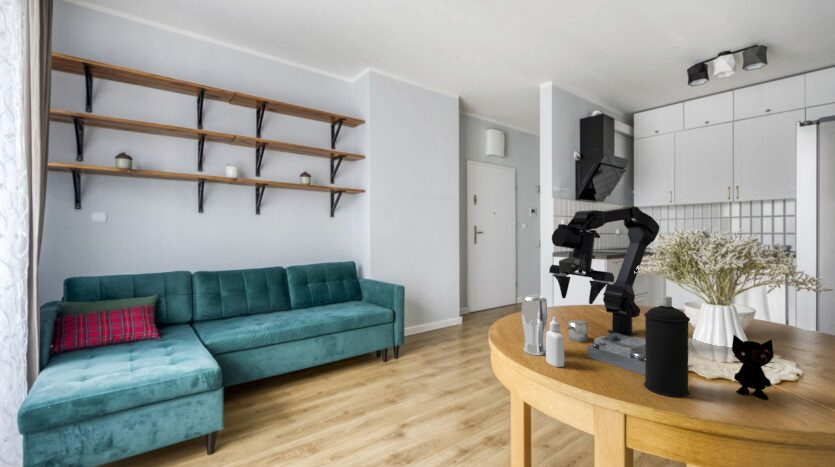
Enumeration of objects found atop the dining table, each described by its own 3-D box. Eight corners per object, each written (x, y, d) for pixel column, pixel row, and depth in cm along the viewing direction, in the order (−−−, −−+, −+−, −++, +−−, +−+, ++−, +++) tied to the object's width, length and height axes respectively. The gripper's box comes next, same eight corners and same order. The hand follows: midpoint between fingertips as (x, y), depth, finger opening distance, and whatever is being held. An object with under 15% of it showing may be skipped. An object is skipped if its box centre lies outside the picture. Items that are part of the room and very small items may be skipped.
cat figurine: (729, 394, 78) (730, 337, 78) (729, 384, 84) (730, 330, 83) (776, 404, 74) (777, 343, 73) (773, 392, 79) (774, 335, 79)
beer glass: (544, 348, 109) (544, 296, 109) (550, 356, 102) (550, 301, 102) (519, 347, 110) (519, 296, 110) (524, 355, 103) (523, 301, 103)
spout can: (575, 336, 121) (575, 318, 121) (591, 340, 116) (591, 322, 116) (559, 340, 116) (559, 322, 116) (575, 345, 112) (575, 326, 112)
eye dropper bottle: (563, 360, 99) (563, 315, 99) (564, 368, 94) (564, 320, 93) (545, 359, 100) (545, 314, 100) (545, 366, 95) (545, 319, 95)
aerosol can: (691, 401, 76) (691, 302, 75) (643, 392, 80) (643, 298, 80) (688, 386, 83) (688, 295, 82) (644, 378, 87) (644, 292, 87)
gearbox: (616, 347, 109) (616, 332, 109) (678, 364, 95) (678, 346, 95) (587, 357, 101) (587, 340, 101) (650, 377, 88) (650, 357, 88)
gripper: (541, 245, 120) (535, 294, 119) (596, 250, 104) (589, 306, 104) (562, 249, 126) (557, 296, 125) (618, 254, 110) (611, 307, 110)
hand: (576, 301), depth 116 cm, fingers open, 9 cm apart
